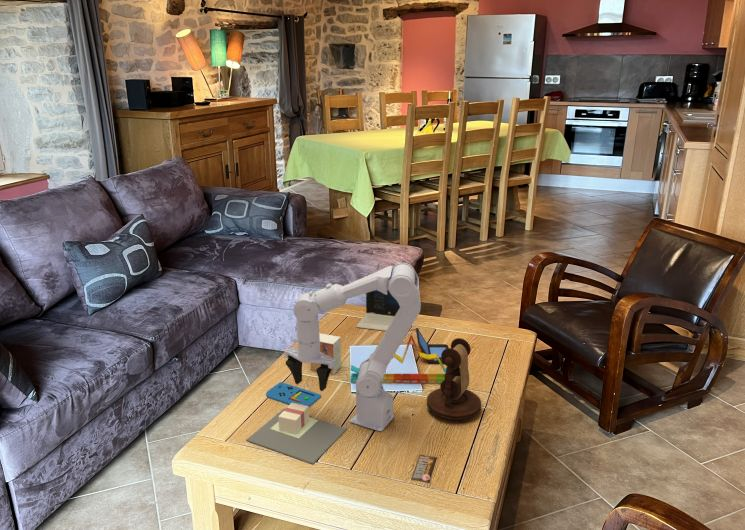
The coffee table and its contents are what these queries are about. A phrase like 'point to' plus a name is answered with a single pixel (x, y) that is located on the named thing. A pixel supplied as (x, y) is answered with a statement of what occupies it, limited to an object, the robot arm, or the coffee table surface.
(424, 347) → the handheld game console
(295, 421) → the card deck
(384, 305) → the laptop
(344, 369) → the coffee table surface
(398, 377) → the chart
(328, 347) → the small box
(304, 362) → the robot arm
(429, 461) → the chocolate bar
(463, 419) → the brown upright jointed piece
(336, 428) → the mat
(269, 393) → the handheld gaming device
